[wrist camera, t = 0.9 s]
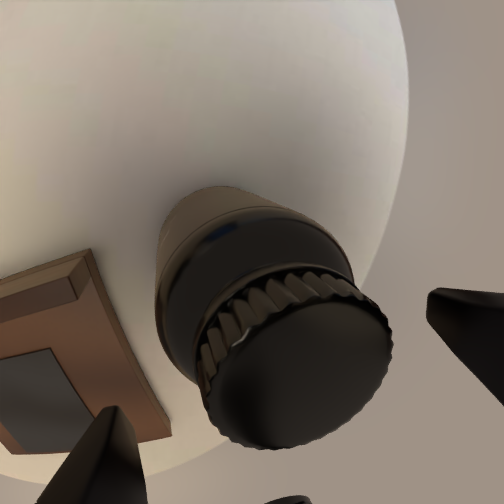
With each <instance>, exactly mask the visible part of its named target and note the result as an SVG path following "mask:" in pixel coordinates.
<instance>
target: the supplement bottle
mask: <svg viewBox="0 0 504 504" xmlns="http://www.w3.org/2000/svg"><path fill="white" fill-rule="evenodd" d="M155 321H156V327H157V333H158V336H159V339H160V342H161V345H162V347H163V349H164V351H165V353H166V355H167V356H168V358H169V359H170V361H171V362H172V363H173V365H174V366H175V367H176V368H177V369H178V370H179V371H180V372H181V373H182V374H183V375H184V376H185V377H186V378H188V379H189V380H190V381H192V382H193V383H195V384H196V385H198V387H199V389H200V392H201V397H202V401H203V405H204V408H205V409H206V411H207V413H208V417H209V420H210V422H211V423H212V424H213V425H214V426H215V427H217V428H218V431H219V432H220V434H221V435H223V436H227V437H229V439H230V440H231V441H232V442H234V443H239V444H241V445H243V446H244V447H249V448H256V449H258V450H264V449H270V450H278V449H283V448H286V449H290V448H293V447H295V446H298V445H305V444H307V443H309V442H311V441H314V440H317V439H321V438H322V437H324V436H325V435H327V434H328V433H331V432H333V431H335V430H337V429H338V428H339V427H340V426H341V425H343V424H345V423H347V422H348V421H350V420H351V418H352V417H353V416H354V415H355V414H357V413H358V412H360V411H361V410H362V409H363V407H364V406H365V404H366V403H367V402H368V401H370V400H371V399H372V397H373V395H374V393H375V391H376V390H377V389H378V388H379V387H380V385H381V383H382V379H383V378H384V376H385V375H386V373H387V372H388V365H389V363H390V361H391V359H392V354H391V351H392V348H393V345H394V344H393V341H392V340H391V336H392V330H391V328H390V327H389V326H388V318H387V317H386V316H385V315H384V314H383V313H382V312H381V310H380V308H379V306H378V305H377V304H376V303H375V302H374V301H372V300H371V299H369V298H368V297H367V296H365V295H364V294H362V293H361V292H360V291H359V289H358V288H357V287H356V286H355V283H354V277H353V273H352V269H351V266H350V263H349V261H348V258H347V256H346V254H345V252H344V250H343V249H342V247H341V246H340V244H339V243H338V241H337V240H336V239H335V238H334V237H333V236H332V234H331V233H330V232H328V231H327V230H326V229H325V228H324V227H323V226H321V225H320V224H318V223H317V222H315V221H314V220H312V219H310V218H308V217H307V216H305V215H303V214H301V213H298V212H296V211H294V210H291V209H289V208H287V207H284V206H282V205H280V204H277V203H275V202H272V201H270V200H268V199H265V198H263V197H260V196H258V195H255V194H253V193H250V192H248V191H245V190H242V189H238V188H234V187H228V186H216V187H209V188H205V189H201V190H199V191H196V192H194V193H192V194H190V195H189V196H187V197H185V198H184V199H183V200H181V201H180V202H179V203H178V204H177V205H176V206H175V207H174V208H173V209H172V211H171V212H170V213H169V215H168V216H167V218H166V220H165V222H164V224H163V226H162V229H161V232H160V236H159V241H158V249H157V263H156V281H155Z"/></svg>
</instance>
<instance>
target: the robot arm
mask: <svg viewBox="0 0 504 504" xmlns="http://www.w3.org/2000/svg"><path fill="white" fill-rule="evenodd" d="M426 318H427V321H428V323H429V324H430V325H431V327H432V328H433V329H434V330H435V331H436V332H437V334H438V335H439V336H440V337H441V338H442V340H443V341H444V342H445V343H446V345H447V346H448V347H449V348H450V349H451V351H452V352H453V353H454V354H455V355H456V356H457V357H458V358H459V359H460V361H461V362H463V364H464V365H465V366H466V367H467V368H468V369H469V370H470V371H471V372H472V373H473V374H474V375H475V376H476V377H477V378H478V379H479V380H480V381H481V382H482V383H483V384H484V385H485V386H486V388H487V389H488V390H489V391H490V392H491V393H492V394H493V395H494V396H495V397H496V398H497V399H498V400H499V402H500V403H502V405H503V406H504V293H495V292H484V291H471V290H462V289H450V288H437V289H435V290H433V291H431V292H430V293H429V294H428V297H427V310H426ZM35 504H148V501H147V492H146V485H145V479H144V474H143V469H142V464H141V459H140V454H139V449H138V444H137V438H136V433H135V430H134V427H133V425H132V424H131V422H130V421H129V419H128V418H127V416H126V415H125V413H124V412H123V410H122V409H121V408H120V407H119V406H118V405H113V406H108V407H104V408H103V409H102V410H101V411H100V412H99V414H98V415H97V416H96V418H95V419H94V421H93V422H92V423H91V425H90V426H89V427H88V429H87V430H86V432H85V433H84V434H83V436H82V437H81V438H80V440H79V441H78V443H77V444H76V445H75V447H74V448H73V450H72V451H71V452H70V454H69V455H68V457H67V458H66V459H65V461H64V462H63V464H62V465H61V466H60V468H59V469H58V471H57V472H56V474H55V475H54V476H53V478H52V479H51V481H50V482H49V484H48V485H47V486H46V488H45V490H44V491H43V492H42V494H41V496H40V497H39V498H38V500H37V503H35ZM295 504H307V503H306V502H305V501H301V502H298V503H295Z"/></svg>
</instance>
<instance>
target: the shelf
mask: <svg viewBox="0 0 504 504" xmlns="http://www.w3.org/2000/svg"><path fill="white" fill-rule="evenodd" d="M113 405H118V406H119V407H120V408H121V409H122V410H123V412H124V413H125V415H126V416H127V418H128V419H129V421H130V422H131V424H132V425H133V427H134V430H135V433H136V438H137V443H142V442H147V441H152V440H157V439H162V438H167V437H171V436H172V432H171V423H170V421H169V419H168V418H167V416H166V414H165V413H164V411H163V409H162V407H161V406H160V404H159V402H158V400H157V399H156V397H155V395H154V393H153V391H152V389H151V388H150V386H149V384H148V382H147V380H146V378H145V376H144V374H143V372H142V370H141V368H140V366H139V364H138V362H137V360H136V358H135V356H134V354H133V352H132V350H131V348H130V346H129V344H128V342H127V340H126V337H125V335H124V333H123V331H122V329H121V326H120V324H119V322H118V320H117V317H116V315H115V313H114V310H113V308H112V305H111V303H110V300H109V298H108V296H107V293H106V290H105V288H104V285H103V283H102V280H101V277H100V275H99V272H98V269H97V267H96V264H95V261H94V258H93V255H92V252H91V250H90V249H87V250H84V251H81V252H78V253H75V254H72V255H69V256H66V257H63V258H60V259H57V260H54V261H51V262H48V263H45V264H42V265H39V266H37V267H34V268H31V269H28V270H25V271H23V272H20V273H17V274H14V275H12V276H9V277H6V278H4V279H1V280H0V442H1V443H2V444H3V445H4V446H5V447H6V448H7V450H8V451H9V452H10V453H11V454H15V455H22V454H53V453H68V452H71V451H72V450H73V448H74V447H75V445H76V444H77V443H78V441H79V440H80V438H81V437H82V436H83V434H84V433H85V432H86V430H87V429H88V427H89V426H90V425H91V423H92V422H93V421H94V419H95V418H96V416H97V415H98V414H99V412H100V411H101V410H102V409H103V408H104V407H108V406H113Z"/></svg>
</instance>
